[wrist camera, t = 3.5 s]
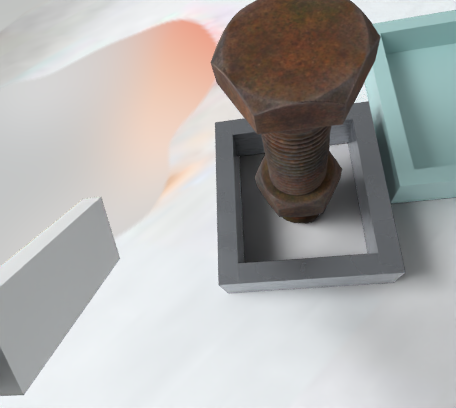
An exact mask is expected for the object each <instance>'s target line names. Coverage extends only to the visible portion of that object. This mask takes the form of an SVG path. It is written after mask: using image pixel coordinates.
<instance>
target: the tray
mask: <svg viewBox="0 0 456 408" xmlns="http://www.w3.org/2000/svg"><path fill="white" fill-rule="evenodd" d="M373 26H374V27H375V29H376V31H377V32H378V34H379V35H380V37H381V38H380V42H379V47H378V51H377V55H376V60H375V62H374V64H373V66H372V68H371V70H370V72H369V74H368V76H367V78H366V80H365V86H366V91H367V96H368V100H369V105H370V110H371V114H372V119H373V124H374V128H375V133H376V138H377V142H378V147H379V152H380V156H381V161H382V166H383V170H384V175H385V180H386V184H387V189H388V194H389V198H390V203H391V204H392V203H403V202H413V201H424V200H434V199H445V198H455V197H456V10H452V11H446V12H441V13H435V14H429V15H423V16H417V17H411V18H405V19H399V20H393V21H387V22H381V23H375V24H373Z"/></svg>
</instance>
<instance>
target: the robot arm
mask: <svg viewBox="0 0 456 408" xmlns="http://www.w3.org/2000/svg"><path fill="white" fill-rule="evenodd" d="M119 259H120V257H119V254H118V250H117V247H116V244H115V241H114V237H113V234H112V231H111V228H110V224H109V221H108V217H107V214H106V211H105V208H104V205H103V201H102V198H101V197H94V198H86V199H82V200H81V201H80V202H78V203H77V204H76V205H75V206H73V207H72V208H71V209H70V210H69V211H67V212H66V213H65V214H64V215H63V216H61V217H60V218H59V219H58V220H56V221H55V222H54V223H53V224H51V225H50V226H49V227H48V228H46V229H45V230H44V231H43V232H42V233H40V234H39V235H38V236H37V237H35V238H34V239H33V240H32V241H31V242H29V243H28V244H27V245H26V246H24V247H23V248H22V249H21V250H19V251H18V252H17V253H16V254H15V255H14V256H12V257H11V258H10V259H8V260H7V261H6V262H5V263H4V264H3V265H1V266H0V396H11V395H24V394H25V393H26V391H27V390H28V388H29V387H30V386H31V384H32V383H33V381H34V380H35V378H36V377H37V376H38V374H39V373H40V371H41V370H42V368H43V367H44V366H45V364H46V363H47V361H48V360H49V359H50V357H51V356H52V354H53V353H54V351H55V350H56V349H57V347H58V346H59V344H60V343H61V341H62V340H63V339H64V337H65V336H66V334H67V333H68V332H69V330H70V329H71V327H72V326H73V324H74V323H75V322H76V320H77V319H78V317H79V316H80V314H81V313H82V312H83V310H84V309H85V307H86V306H87V305H88V303H89V302H90V300H91V299H92V297H93V296H94V295H95V293H96V292H97V290H98V289H99V287H100V286H101V285H102V283H103V282H104V280H105V279H106V278H107V276H108V275H109V273H110V272H111V270H112V269H113V268H114V266H115V265H116V263H117V262H118V261H119Z"/></svg>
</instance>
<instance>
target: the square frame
mask: <svg viewBox="0 0 456 408" xmlns="http://www.w3.org/2000/svg"><path fill="white" fill-rule="evenodd" d="M215 139H216V185H217V232H218V278H219V286H220V287H221V288H223V289H224V290H225V291H226V292H227V293H237V292H253V291H269V290H285V289H301V288H316V287H332V286H348V285H364V284H380V283H394V282H395V281H396V280H397V279H398V278H400V277H401V276H402V275H403V274H404V273H405V269H404V264H403V259H402V255H401V250H400V245H399V241H398V236H397V231H396V227H395V222H394V217H393V213H392V208H391V203H390V198H389V194H388V189H387V184H386V180H385V175H384V170H383V166H382V161H381V156H380V152H379V147H378V142H377V138H376V133H375V128H374V124H373V119H372V114H371V110H370V105H369V101H368V102H361V103H354V104H353V106H352V107H351V109H350V111H349V113H348V115H347V117H346V119H345V121H344V123H343V124H342V125H334V126H331V131H330V144H329V145H335V144H343V143H348V145H349V151H350V157H351V162H352V168H353V173H354V179H355V185H356V190H357V196H358V201H359V207H360V213H361V218H362V224H363V229H364V235H365V241H366V246H367V252H368V254H358V255H345V256H332V257H318V258H305V259H292V260H278V261H265V262H252V263H245V260H244V240H243V220H242V199H241V179H240V158H239V156H244V155H253V154H261V153H265V151H264V146H263V140H262V135H261V134H257V133H256V132H255V131H254V129H253V128H252V127H251V126H250V124H249V123H248V122H247V120H246V119H237V120H230V121H223V122H216V123H215Z"/></svg>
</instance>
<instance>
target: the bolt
mask: <svg viewBox="0 0 456 408" xmlns="http://www.w3.org/2000/svg"><path fill="white" fill-rule="evenodd" d="M380 38H381V37H380V35H379V34H378V32H377V31H376V29H375V27H374V26H373V24H372V23H371V21H370V20H369V19H368V18H367V16H366V15H365V14H364V13H363V12H362V11H361V10H360V9H359V8H358V7H357V6H356V5H355V4H354V3H353V2H352V1H350V0H256V1H254V2H253V3H251V4H249V5H247V6H246V7H245V8H243V9H242V10H240V11H239V12H238V13H237V14H236V15H235V16H234V17H233V18H232V20H231V21H230V22H229V24H228V25H227V27H226V28H225V30H224V32H223V34H222V36H221V38H220V40H219V42H218V44H217V47H216V49H215V52H214V55H213V58H212V61H211V65H212V69H213V72H214V75H215V78H216V82H217V84H218V85H219V86H220V87H221V89H222V90H223V91H224V92H225V94H226V95H227V96H228V98H229V99H230V100H231V101H232V103H233V104H234V105H235V106H236V108H237V109H238V110H239V112H240V113H241V114H242V115H243V117H244V118H245V119H246V120H247V122H248V123H249V124H250V126H251V127H252V128H253V129H254V131H255V132H256V133H257V134H261V135H262V140H263V146H264V151H265V156H264V158H263V160H262V162H261V164H260V166H259V168H258V170H257V173H256V175H255V181H256V185H257V187H258V188H259V190H260V191H261V193H262V194H263V196H264V197H265V199H266V200H267V202H268V203H269V204H270V206H271V207H272V208H273V210H274V211H275V212H276V213H277V214H278V216H279V217H283V218H284V219H285V220H287V221H290V222H293V223H309V222H312V221H314V220H315V219H316V218H317V217H318V216H319V214H322V213H323V212H324V210H325V209H326V207H327V205H328V203H329V201H330V199H331V197H332V195H333V193H334V191H335V189H336V186H337V184H338V182H339V180H340V177H341V172H342V168H341V167H340V165H339V164H338V162H337V161H336V159H335V158H334V157H333V155H332V154H331V153H330V151H329V144H330V131H331V126H334V125H342V124H343V123H344V121H345V119H346V117H347V115H348V113H349V111H350V109H351V107H352V106H353V104H354V102H355V100H356V98H357V96H358V94H359V92H360V90H361V88H362V86H363V84H364V82H365V80H366V78H367V76H368V74H369V72H370V70H371V68H372V66H373V64H374V62H375V60H376V55H377V51H378V47H379V42H380Z"/></svg>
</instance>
